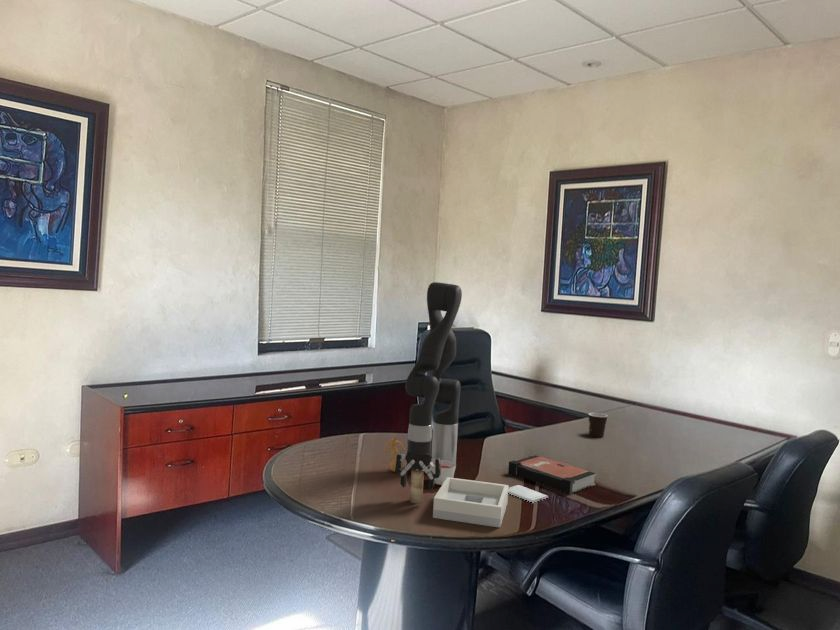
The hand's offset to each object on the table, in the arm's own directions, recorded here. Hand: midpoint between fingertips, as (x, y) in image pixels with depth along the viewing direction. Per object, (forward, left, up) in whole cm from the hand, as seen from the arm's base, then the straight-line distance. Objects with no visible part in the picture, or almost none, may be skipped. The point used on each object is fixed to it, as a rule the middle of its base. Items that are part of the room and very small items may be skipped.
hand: (416, 488), depth 198 cm
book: (-40, +41, -5) cm, 57 cm away
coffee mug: (-113, +59, -5) cm, 128 cm away
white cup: (-21, +4, -5) cm, 22 cm away
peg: (0, 0, -4) cm, 4 cm away
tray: (+1, +18, -4) cm, 18 cm away
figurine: (-26, -15, -5) cm, 31 cm away
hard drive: (-19, +33, -5) cm, 38 cm away
